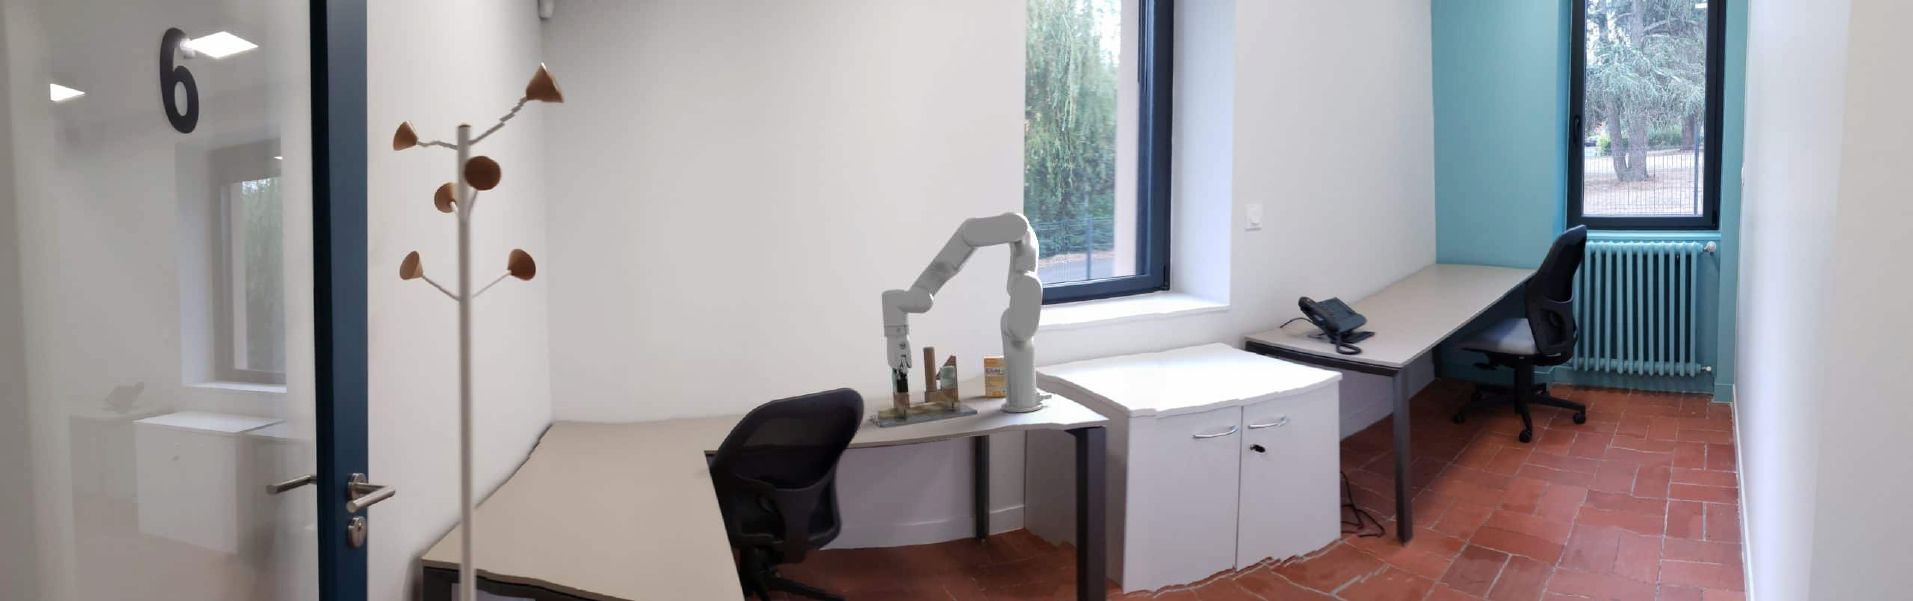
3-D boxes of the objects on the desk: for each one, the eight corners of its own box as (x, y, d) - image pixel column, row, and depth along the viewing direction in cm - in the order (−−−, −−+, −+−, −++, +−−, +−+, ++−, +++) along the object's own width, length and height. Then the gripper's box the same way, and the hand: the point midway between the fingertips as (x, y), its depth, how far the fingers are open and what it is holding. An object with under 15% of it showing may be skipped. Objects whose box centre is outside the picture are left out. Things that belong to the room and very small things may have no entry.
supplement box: (985, 397, 340) (982, 358, 339) (987, 394, 345) (984, 355, 344) (1010, 397, 339) (1008, 357, 338) (1012, 394, 344) (1009, 354, 342)
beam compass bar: (957, 404, 327) (954, 363, 326) (965, 408, 321) (963, 366, 320) (878, 416, 318) (875, 374, 316) (885, 420, 312) (882, 377, 310)
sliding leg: (905, 410, 320) (902, 371, 319) (912, 414, 315) (909, 374, 313) (892, 412, 319) (889, 372, 318) (899, 416, 313) (896, 375, 312)
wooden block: (959, 399, 341) (955, 344, 339) (929, 404, 336) (925, 348, 334) (953, 397, 344) (950, 343, 342) (924, 402, 339) (920, 347, 337)
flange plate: (960, 405, 331) (959, 402, 331) (977, 413, 318) (977, 409, 318) (869, 418, 320) (869, 415, 320) (883, 427, 307) (883, 423, 307)
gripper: (917, 332, 308) (921, 394, 310) (899, 326, 323) (903, 385, 325) (893, 335, 305) (897, 397, 307) (876, 329, 320) (880, 388, 322)
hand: (900, 390), depth 316 cm, fingers closed on sliding leg, 2 cm apart
